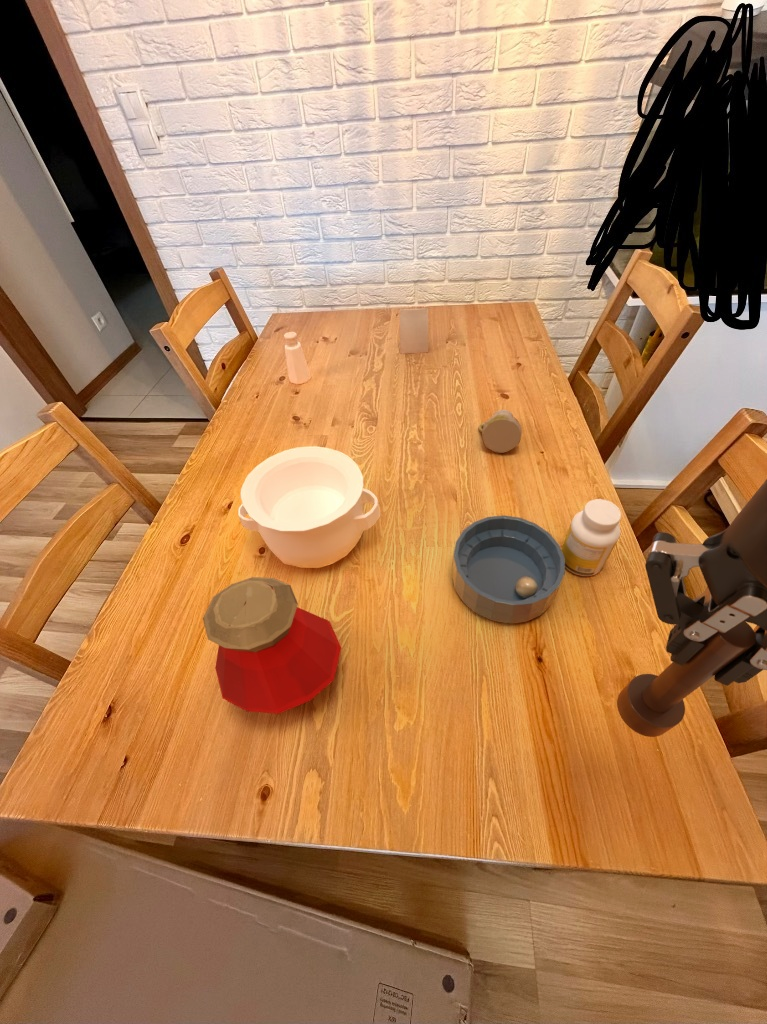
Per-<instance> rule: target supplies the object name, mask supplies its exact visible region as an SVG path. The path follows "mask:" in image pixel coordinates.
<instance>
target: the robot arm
mask: <svg viewBox="0 0 767 1024" xmlns="http://www.w3.org/2000/svg"><path fill="white" fill-rule="evenodd" d="M649 547H650V548H649V551H648V554H647V558H646V561H645V565H644V566H645V571H646V574H647V575H646V576H647V579H648V582H649V587H650V591H651V594H652V598H653V603H654V606H655V609H656V614H657V615H656V616H657V618H658V619H659V620H660V621H661V622H663V623H664V624H667V625H674V626H673V627H672V628H671V629H670V630H669V634H668V638H667V641H666V646H665V651H666V653H668V654H670V661H671V663H672V662H675V663H677V664H679V665H681V666H682V665H684V664H685V663H686V662H687V661H688V660H689V659H690V658H691V657H692V656H693V655H694V654H695V653H697V652H698V651H699V650H700V649H701V648H702V647H703V646H704V645H705V640H706V639H707V638H709V637H710V636H712V635H713V634H715V633H716V632H718V631H719V632H721V633H725V632H727V631H728V630H730V629H731V628H733V627H734V626H736V625H738V624H739V623H741V622H742V621H745V622H747V623H748V624H753V625H756V626H755V627H754V628H753V630H754V632H755V635H756V641H755V644H754V645H753V646H752V647H750V648H749V649H748V650H747V651H745V652H744V653H743V654H741V655H740V656H739V657H737V658H736V659H735V660H734V661H732V662H731V663H730V664H728V665H727V666H726V667H724V668H723V669H722V670H720V671H719V672H718V673H717V674H715V675H714V677H713V678H714V681H715V682H717V683H719V684H722V685H724V686H726V687H728V686H730V685H731V684H733V683H737V684H742V683H743V684H744V683H747V682H748V681H750V680H751V679H753V678H754V677H756V676H757V675H758V674H760V673H761V672H763V671H767V478H766V479H765V481H764V482H763V483H762V484H761V485H760V487H759V488H758V489H757V490H756V492H755V493H753V495H752V496H751V498H749V500H748V502H746V503H745V505H744V507H743V508H742V509H741V510H740V511H739V512H738V514H737V515H736V516H735V518H734V519H733V520H732V522H731V523H730V525H728V526H727V528H726V529H724V530H723V531H721V532H718V533H715V534H712V535H710V536H708V537H707V538H706V539H704V541H703V542H702V544H700V543H699V544H698V543H682V542H681V543H680V542H677V539H676V537H675V536H674V535H673V534H671V533H669V532H662V531H661V532H657V533H655V534H654V536H653V538H652V542H651V545H650V546H649ZM693 568H699V570H700V571H701V574H702V576H703V579H704V582H705V585H706V588H705V589H704V591H702V592H701V593H700V594H699V595H698V596H697V597H695V598H694V599H693V598H691V597H689V596H688V595H686V594H687V590H686V585H685V578H686V577H688V576H689V574H690V570H691V569H693Z"/></svg>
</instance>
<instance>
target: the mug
mask: <svg viewBox="0 0 767 1024" xmlns="http://www.w3.org/2000/svg"><path fill="white" fill-rule="evenodd" d="M477 430H478V431H479V433H481V436H482V441H483V443H484V446H485V448H486V449H489V450H490V451H492V452H495V453H496V454H497V453H498V454H503V453H507V452H509V451H511V450H513V449H515V448H516V447H517V446H518V445H519V443H520V441H521V438H522V432H523V431H522V426H521V424H520V422H519V421H518V419H517V418H516V417H515V416H514V415H513V413H512V412H511V411H510V410H507V409H498V410H497V411H496V412H495V413H494V414H493V415H492V416H491V417H489V418H488V419H487V420H486V421H485V422H483V423H480V424H479V426H478V427H477Z"/></svg>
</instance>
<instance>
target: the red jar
mask: <svg viewBox="0 0 767 1024" xmlns="http://www.w3.org/2000/svg"><path fill="white" fill-rule="evenodd" d="M298 605H299V603H298V600H297V598H296V595H295V593H294V590H293V588H292V586H291V584H289V583H287V582H284V581H282V580H279V579H277V578H276V577H261V576H252V577H249V578H245V579H243V580H240V581H237V582H234V583H231V584H229V585H228V586H226V587H225V588H223V589H222V590H220V591H219V592H217V593H216V594H215V595H214V596H212V598H211V600H210V602H209V604H208V607H207V609H206V611H205V613H204V615H203V618H202V621H203V626H204V629H205V633H206V637H207V640H208V641H210V642H212V643H214V644H216V645H218V649H217V655H216V660H215V666H214V667H215V673H216V677H217V682H218V685H219V690H220V693H221V697H222V699H223V700H225V701H227V702H228V703H230V704H232V705H234V706H236V707H238V708H240V709H241V710H243V711H245V712H251V713H263V714H275V715H276V714H277V715H279V714H282V713H283V712H286V711H288V710H291V709H293V708H297V707H298V706H301V705H303V704H305V703H309V702H310V701H312V700H313V699H314V698H315V697H317V695H318V694H320V693H321V692H322V691H323V690H324V689H326V687H328V686H329V685H330V684H331V683H332V682H333V681H334V680H335V677H336V673H337V668H338V664H339V660H340V655H341V652H342V651H341V650H342V646H341V643H340V641H339V639H338V637H337V634H336V632H335V630H334V628H333V626H332V623H331V621H330V620H328V619H326V618H323V617H321V616H319V615H317V614H315V613H311V612H310V611H308V610H305V609H303V608H300V607H298Z"/></svg>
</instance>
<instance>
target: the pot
mask: <svg viewBox="0 0 767 1024" xmlns="http://www.w3.org/2000/svg"><path fill="white" fill-rule="evenodd" d="M364 485H365V483H364V476H363V473H362V471H361V469H360V467H359V465H358V464H357V462H355V461H354V460H353V459H352V458H351V457H350V456H349V455H347V454H346V453H344V452H342V451H339V450H336V449H334V448H333V449H332V448H330V447H325V446H324V447H323V446H318V445H317V446H315V445H312V446H311V445H310V446H298V447H297V446H296V447H293V448H289V449H286V450H282V451H280V452H278V453H275V454H273V455H271V456H268V457H267V458H266V459H264V460H263V461H262V462H260V463H259V464H257V465H256V466H255V467H254V468H253V469H252V470H251V471H250V472H249V473H248V474H247V475H246V478H245V480H244V482H243V483H242V486H241V488H240V500H241V505H239V507H238V509H237V512H238V513H237V515H238V518H239V521H240V524H241V526H242V527H244V528H245V529H246V530H249V531H252V532H258V533H259V535H260V536H261V538H262V540H263V542H264V543H265V545H266V547H267V548H268V549H269V550H270V551H271V553H272V554H273V555H274V556H275V557H276V558H277V559H278V560H279V561H280V562H281V563H282V564H285V565H289V566H292V567H297V568H300V569H301V568H303V569H307V568H308V569H320V568H323V567H327V566H330V565H333V564H334V563H337V562H338V561H340V560H342V559H343V558H345V557H347V556H348V555H349V553H351V551H352V550H353V549H354V548H355V547H356V546H357V544H358V542H359V541H360V539H361V538H362V536H363V533H364V531H367V530H370V529H371V528H372V527H373V526H374V525H375V524H376V523H377V522H378V521H379V519H380V517H381V508H380V503H379V500H378V497H377V495H375V493H374V492H373V491H371V490H369V489H367V488H365V486H364ZM365 504H369V505H371V506H372V507H371V509H370V510H369V511H368V512H366V513H365V510H364V505H365ZM247 515H248V516H249V517H246V516H247Z"/></svg>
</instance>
